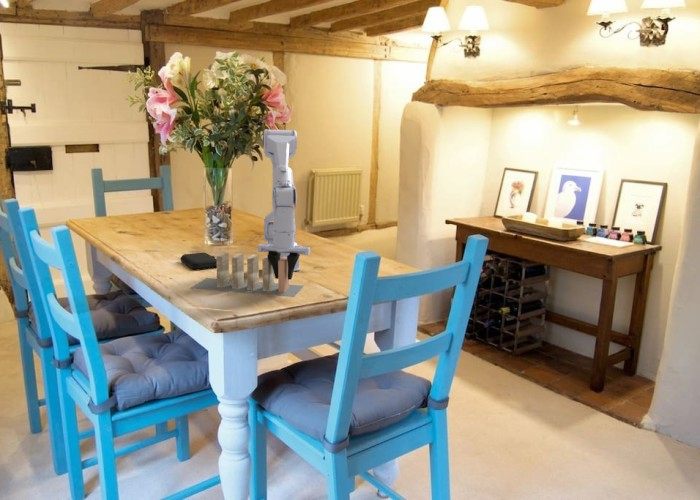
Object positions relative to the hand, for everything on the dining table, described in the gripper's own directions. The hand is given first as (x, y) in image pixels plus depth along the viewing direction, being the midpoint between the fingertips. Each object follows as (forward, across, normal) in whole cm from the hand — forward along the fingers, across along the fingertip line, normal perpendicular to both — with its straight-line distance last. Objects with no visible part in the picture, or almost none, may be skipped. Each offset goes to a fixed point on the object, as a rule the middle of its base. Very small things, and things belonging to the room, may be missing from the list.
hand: (283, 278), depth 163 cm
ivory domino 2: (+3, -14, 0) cm, 14 cm away
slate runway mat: (+4, -10, 0) cm, 11 cm away
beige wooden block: (+3, -18, 0) cm, 18 cm away
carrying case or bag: (+4, -34, +21) cm, 40 cm away
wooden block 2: (+3, -4, 0) cm, 6 cm away
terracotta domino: (+3, 0, 0) cm, 3 cm away
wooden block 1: (+3, -9, 0) cm, 10 cm away
